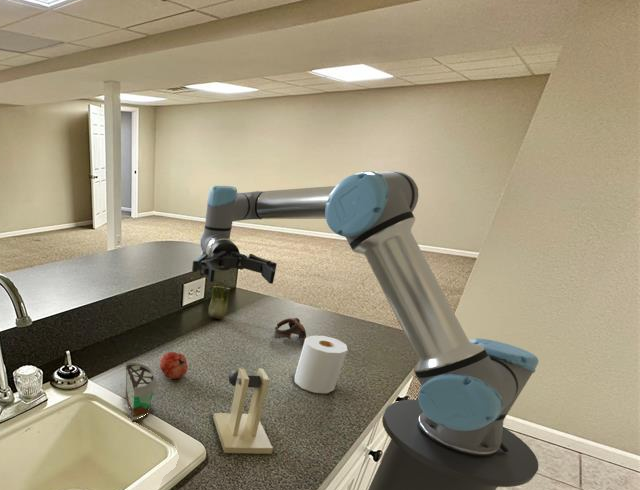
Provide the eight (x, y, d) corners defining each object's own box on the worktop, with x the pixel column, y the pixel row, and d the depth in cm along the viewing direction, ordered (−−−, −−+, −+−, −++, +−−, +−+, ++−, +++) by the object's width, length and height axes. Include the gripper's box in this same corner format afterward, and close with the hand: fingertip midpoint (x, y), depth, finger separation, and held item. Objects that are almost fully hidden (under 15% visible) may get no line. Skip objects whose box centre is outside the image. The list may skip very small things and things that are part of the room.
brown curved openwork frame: (306, 350, 127) (298, 329, 124) (276, 354, 133) (268, 335, 130) (311, 328, 135) (304, 308, 131) (283, 333, 141) (275, 314, 137)
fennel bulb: (226, 318, 147) (231, 287, 141) (219, 322, 144) (224, 290, 138) (213, 314, 151) (217, 283, 145) (205, 317, 147) (210, 285, 141)
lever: (226, 385, 95) (227, 370, 95) (241, 385, 95) (242, 370, 95) (245, 390, 81) (246, 372, 81) (263, 390, 81) (263, 372, 81)
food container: (159, 424, 91) (163, 387, 86) (133, 426, 90) (135, 389, 85) (148, 394, 102) (151, 360, 97) (124, 396, 101) (125, 361, 96)
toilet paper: (292, 387, 107) (303, 347, 101) (296, 370, 115) (306, 332, 109) (333, 397, 103) (347, 356, 97) (334, 379, 111) (347, 340, 105)
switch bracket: (213, 418, 94) (223, 358, 86) (255, 419, 94) (269, 360, 86) (224, 452, 84) (236, 389, 76) (271, 453, 84) (289, 390, 76)
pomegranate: (154, 382, 111) (170, 377, 102) (151, 356, 112) (167, 348, 103) (178, 380, 114) (196, 375, 105) (175, 355, 115) (192, 348, 106)
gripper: (265, 268, 111) (293, 294, 93) (175, 265, 110) (185, 291, 92) (271, 240, 107) (301, 261, 89) (177, 237, 107) (189, 258, 88)
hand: (242, 276), depth 90 cm, fingers open, 13 cm apart
